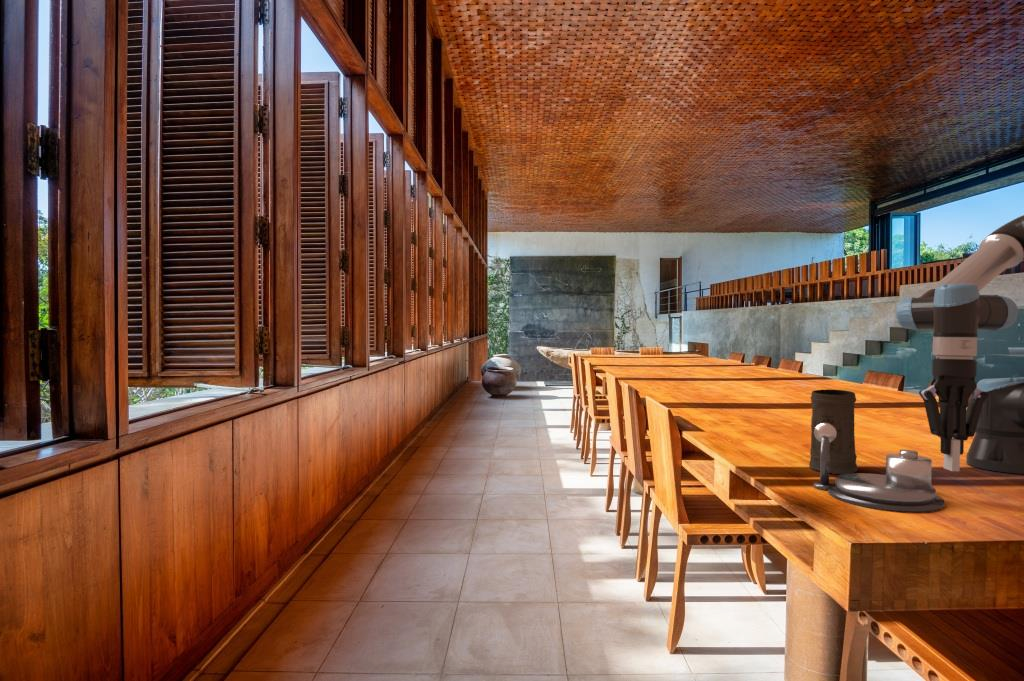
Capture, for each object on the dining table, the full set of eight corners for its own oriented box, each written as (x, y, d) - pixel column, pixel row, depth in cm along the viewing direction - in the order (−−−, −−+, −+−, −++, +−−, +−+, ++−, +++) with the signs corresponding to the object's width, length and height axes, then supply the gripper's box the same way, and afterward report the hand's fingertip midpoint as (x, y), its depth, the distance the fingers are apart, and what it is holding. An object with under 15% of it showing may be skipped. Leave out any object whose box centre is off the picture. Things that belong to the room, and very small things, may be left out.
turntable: (909, 511, 115) (909, 479, 115) (818, 489, 130) (818, 461, 130) (959, 494, 126) (960, 465, 126) (870, 476, 142) (870, 450, 141)
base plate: (904, 484, 137) (904, 481, 137) (970, 513, 116) (970, 509, 116) (810, 483, 138) (810, 480, 138) (859, 512, 117) (859, 508, 117)
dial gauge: (815, 484, 138) (816, 420, 137) (837, 487, 135) (838, 422, 135) (811, 488, 134) (812, 423, 134) (833, 491, 132) (834, 425, 131)
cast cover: (915, 479, 131) (916, 447, 131) (940, 489, 123) (940, 455, 123) (878, 479, 131) (878, 447, 131) (899, 489, 123) (900, 455, 123)
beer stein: (856, 477, 144) (857, 394, 143) (806, 471, 149) (807, 391, 149) (858, 465, 157) (859, 388, 156) (813, 460, 163) (814, 386, 162)
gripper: (933, 358, 122) (931, 473, 123) (1000, 359, 122) (997, 474, 122) (911, 356, 130) (908, 465, 130) (973, 357, 129) (970, 466, 130)
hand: (951, 469), depth 126 cm, fingers closed
